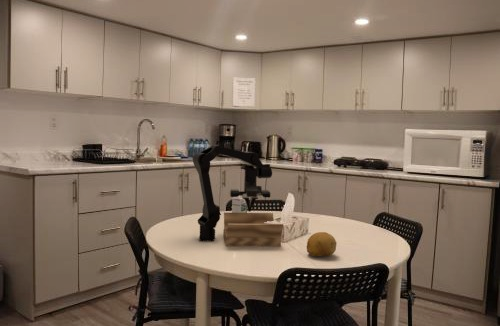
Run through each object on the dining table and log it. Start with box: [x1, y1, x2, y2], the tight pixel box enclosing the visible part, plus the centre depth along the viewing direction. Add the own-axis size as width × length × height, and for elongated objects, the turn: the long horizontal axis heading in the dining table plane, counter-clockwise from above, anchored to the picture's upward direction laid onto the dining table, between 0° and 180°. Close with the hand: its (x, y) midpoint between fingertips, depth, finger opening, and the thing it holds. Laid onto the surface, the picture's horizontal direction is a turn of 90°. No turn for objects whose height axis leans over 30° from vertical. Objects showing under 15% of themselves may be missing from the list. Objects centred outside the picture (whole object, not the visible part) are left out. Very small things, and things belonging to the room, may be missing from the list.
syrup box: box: [231, 195, 248, 213], centre depth 226 cm, size 6×6×14 cm
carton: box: [223, 228, 282, 247], centre depth 194 cm, size 24×15×4 cm, turn 98°
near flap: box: [227, 223, 284, 239], centre depth 184 cm, size 8×24×1 cm
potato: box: [306, 231, 337, 257], centre depth 176 cm, size 10×12×10 cm
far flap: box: [223, 212, 275, 230], centre depth 204 cm, size 8×24×1 cm
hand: (249, 211), depth 204 cm, fingers closed
